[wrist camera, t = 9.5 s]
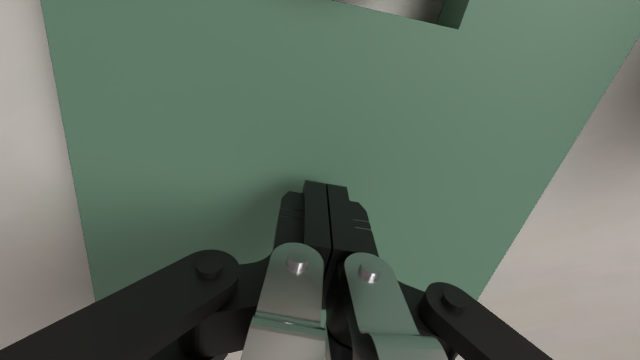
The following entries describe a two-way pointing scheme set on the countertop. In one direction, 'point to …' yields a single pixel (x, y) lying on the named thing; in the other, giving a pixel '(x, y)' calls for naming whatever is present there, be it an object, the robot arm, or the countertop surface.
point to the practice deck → (323, 122)
